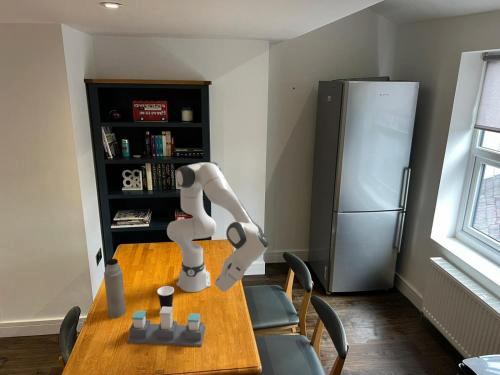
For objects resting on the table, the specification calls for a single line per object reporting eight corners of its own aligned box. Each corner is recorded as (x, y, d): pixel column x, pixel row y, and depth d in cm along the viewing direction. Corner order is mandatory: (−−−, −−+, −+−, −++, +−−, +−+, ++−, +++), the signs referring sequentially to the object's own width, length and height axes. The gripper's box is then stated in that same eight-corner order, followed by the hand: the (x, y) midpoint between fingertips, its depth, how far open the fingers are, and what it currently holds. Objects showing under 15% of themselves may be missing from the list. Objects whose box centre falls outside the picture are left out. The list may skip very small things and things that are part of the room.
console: (136, 324, 168) (135, 315, 167) (205, 328, 167) (205, 318, 166) (126, 343, 157) (125, 333, 155) (201, 346, 156) (201, 336, 154)
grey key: (163, 324, 163) (162, 306, 160) (173, 324, 163) (172, 307, 160) (160, 330, 159) (159, 313, 156) (171, 331, 158) (170, 313, 156)
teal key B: (190, 330, 163) (189, 313, 161) (200, 330, 163) (200, 313, 161) (188, 337, 159) (187, 319, 156) (198, 338, 159) (198, 320, 156)
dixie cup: (177, 307, 182) (177, 287, 179) (169, 316, 174) (168, 296, 171) (163, 303, 184) (162, 284, 181) (155, 313, 177) (153, 293, 174)
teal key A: (136, 328, 164) (135, 310, 162) (147, 328, 164) (146, 311, 161) (133, 335, 160) (132, 317, 157) (143, 335, 160) (142, 317, 157)
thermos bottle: (114, 306, 181) (110, 255, 173) (129, 309, 179) (124, 258, 171) (104, 316, 173) (98, 263, 165) (119, 319, 171) (114, 266, 163)
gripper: (234, 245, 160) (214, 265, 164) (229, 271, 141) (206, 293, 145) (245, 254, 161) (225, 274, 165) (241, 281, 142) (218, 302, 146)
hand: (216, 283), depth 155 cm, fingers closed
